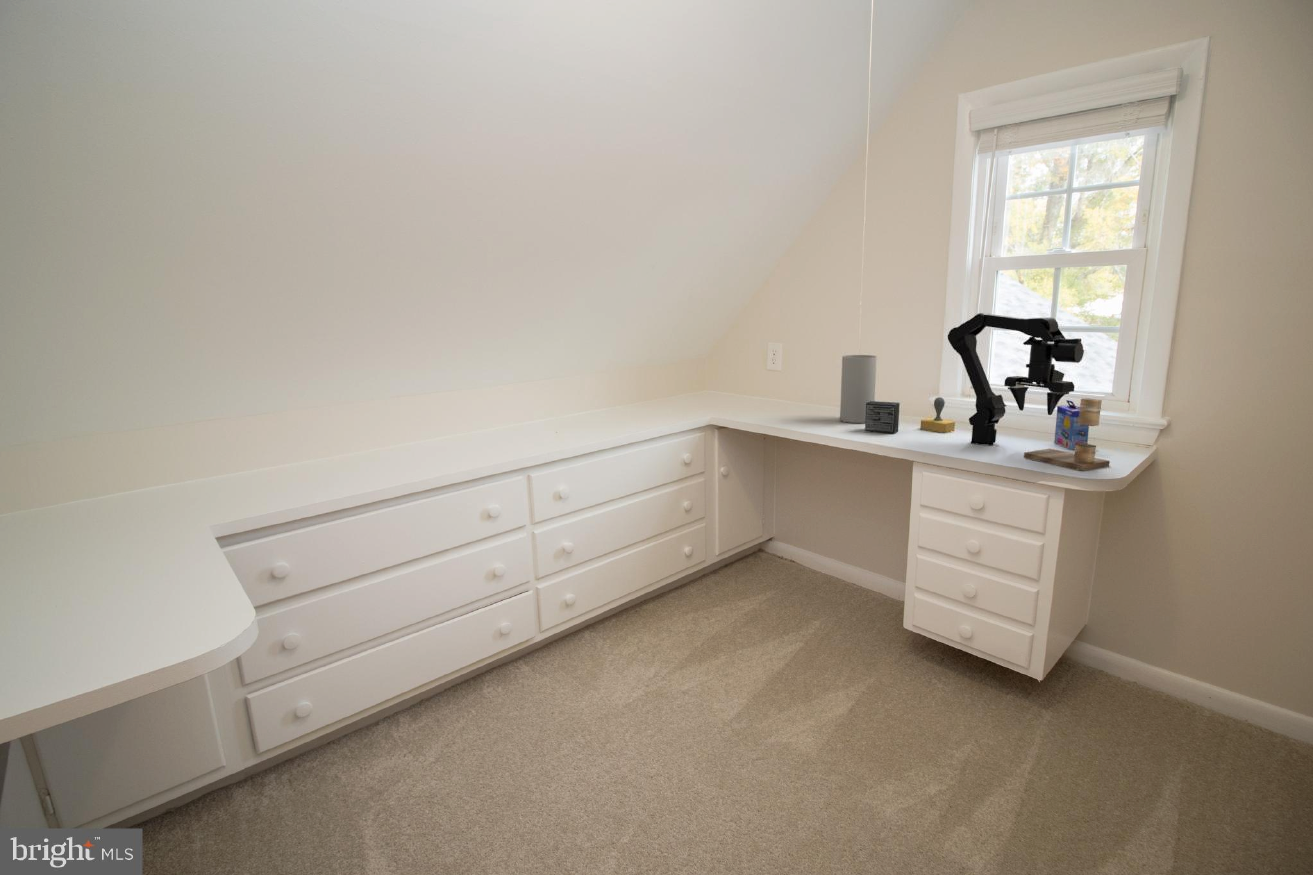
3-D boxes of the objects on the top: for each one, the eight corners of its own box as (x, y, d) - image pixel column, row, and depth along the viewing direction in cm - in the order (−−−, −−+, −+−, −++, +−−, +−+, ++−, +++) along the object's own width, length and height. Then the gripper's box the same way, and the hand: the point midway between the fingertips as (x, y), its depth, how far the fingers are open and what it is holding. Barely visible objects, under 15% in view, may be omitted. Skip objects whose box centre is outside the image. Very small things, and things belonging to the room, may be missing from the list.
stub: (1077, 423, 179) (1080, 398, 177) (1083, 423, 180) (1086, 398, 178) (1092, 426, 175) (1095, 400, 174) (1098, 425, 176) (1101, 400, 175)
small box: (899, 431, 231) (900, 402, 229) (894, 434, 226) (896, 404, 224) (868, 428, 237) (870, 400, 235) (864, 431, 232) (865, 402, 229)
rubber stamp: (954, 431, 229) (957, 397, 226) (945, 433, 225) (947, 399, 223) (929, 427, 237) (931, 394, 234) (919, 429, 233) (921, 396, 231)
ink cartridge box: (1052, 442, 208) (1057, 398, 205) (1070, 442, 207) (1075, 398, 204) (1068, 449, 198) (1073, 403, 195) (1087, 449, 198) (1093, 402, 195)
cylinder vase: (857, 416, 260) (859, 354, 254) (880, 421, 249) (883, 356, 243) (833, 420, 254) (835, 356, 249) (855, 425, 243) (858, 358, 238)
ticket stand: (1023, 457, 190) (1025, 437, 189) (1049, 453, 194) (1051, 433, 193) (1082, 471, 174) (1085, 449, 173) (1109, 466, 179) (1111, 444, 177)
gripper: (1089, 361, 186) (1083, 414, 189) (1030, 357, 203) (1025, 406, 206) (1063, 363, 182) (1058, 418, 185) (1005, 359, 199) (1000, 409, 202)
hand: (1035, 412), depth 195 cm, fingers open, 9 cm apart
